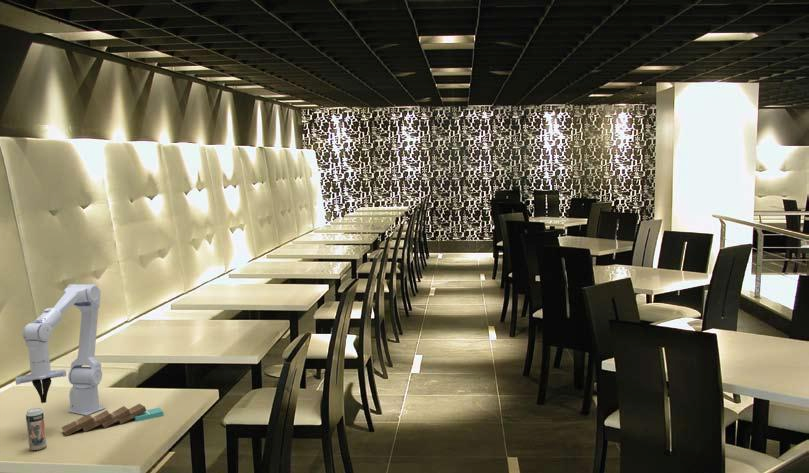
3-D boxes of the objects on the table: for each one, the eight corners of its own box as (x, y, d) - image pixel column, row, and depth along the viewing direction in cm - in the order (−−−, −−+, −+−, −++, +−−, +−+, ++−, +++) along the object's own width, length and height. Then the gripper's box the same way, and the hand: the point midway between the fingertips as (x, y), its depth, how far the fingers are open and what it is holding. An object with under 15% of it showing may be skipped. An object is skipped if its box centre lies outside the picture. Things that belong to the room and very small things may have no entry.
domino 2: (82, 428, 250) (110, 414, 254) (79, 423, 254) (106, 409, 258) (84, 432, 250) (112, 418, 254) (81, 428, 254) (108, 414, 258)
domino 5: (135, 417, 258) (163, 411, 263) (132, 413, 262) (159, 407, 267) (136, 422, 258) (163, 416, 263) (132, 418, 262) (159, 412, 267)
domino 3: (102, 423, 252) (128, 409, 257) (98, 420, 256) (123, 405, 261) (104, 428, 253) (130, 413, 258) (100, 424, 257) (125, 410, 262)
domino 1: (64, 431, 247) (92, 417, 251) (61, 427, 251) (89, 413, 255) (66, 436, 247) (94, 422, 252) (63, 431, 252) (91, 417, 256)
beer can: (29, 452, 235) (25, 414, 233) (29, 447, 239) (25, 409, 237) (47, 449, 237) (43, 410, 235) (46, 444, 241) (42, 406, 240)
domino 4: (119, 419, 255) (144, 406, 260) (114, 416, 259) (139, 403, 264) (120, 424, 256) (146, 410, 261) (115, 420, 260) (141, 407, 265)
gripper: (15, 367, 241) (19, 410, 242) (65, 359, 248) (69, 400, 249) (13, 362, 247) (17, 404, 248) (63, 354, 254) (66, 395, 255)
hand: (43, 402), depth 249 cm, fingers closed
